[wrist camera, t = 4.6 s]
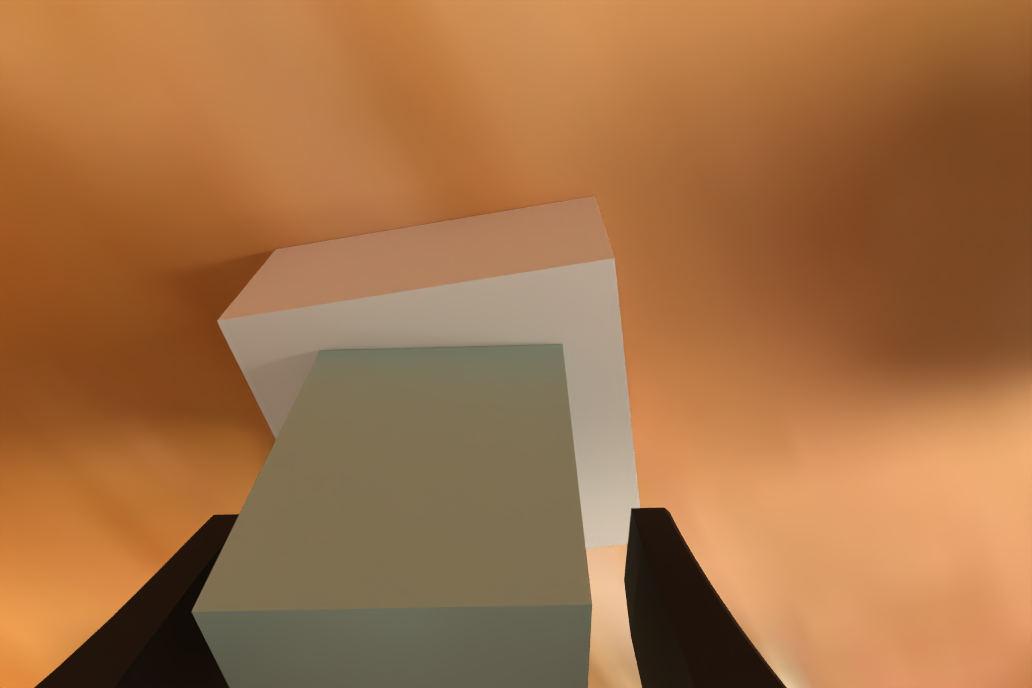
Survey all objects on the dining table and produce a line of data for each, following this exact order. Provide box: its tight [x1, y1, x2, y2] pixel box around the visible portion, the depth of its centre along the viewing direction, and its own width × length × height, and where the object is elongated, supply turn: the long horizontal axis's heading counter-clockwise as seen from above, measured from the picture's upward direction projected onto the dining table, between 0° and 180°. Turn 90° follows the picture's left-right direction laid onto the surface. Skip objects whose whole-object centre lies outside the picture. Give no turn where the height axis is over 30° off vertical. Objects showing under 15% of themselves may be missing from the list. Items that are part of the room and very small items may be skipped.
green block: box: [192, 344, 592, 688], centre depth 12 cm, size 5×5×6 cm
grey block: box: [217, 196, 640, 549], centre depth 16 cm, size 8×8×4 cm
